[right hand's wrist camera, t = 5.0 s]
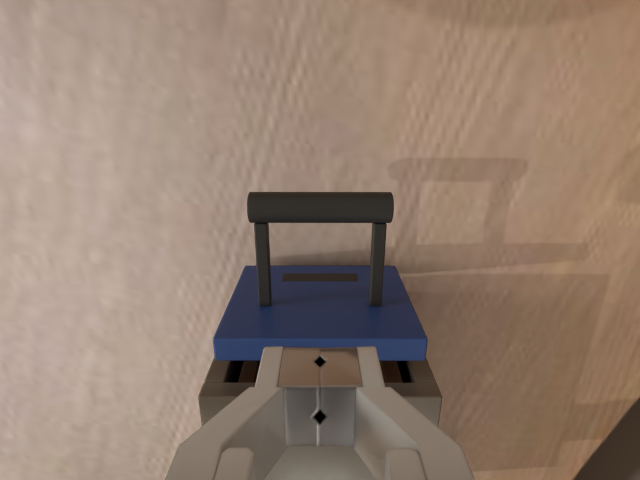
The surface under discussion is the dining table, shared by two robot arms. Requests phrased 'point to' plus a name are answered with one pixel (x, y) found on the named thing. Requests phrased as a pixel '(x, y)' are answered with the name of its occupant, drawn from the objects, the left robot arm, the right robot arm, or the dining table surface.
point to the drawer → (320, 290)
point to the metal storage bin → (320, 461)
